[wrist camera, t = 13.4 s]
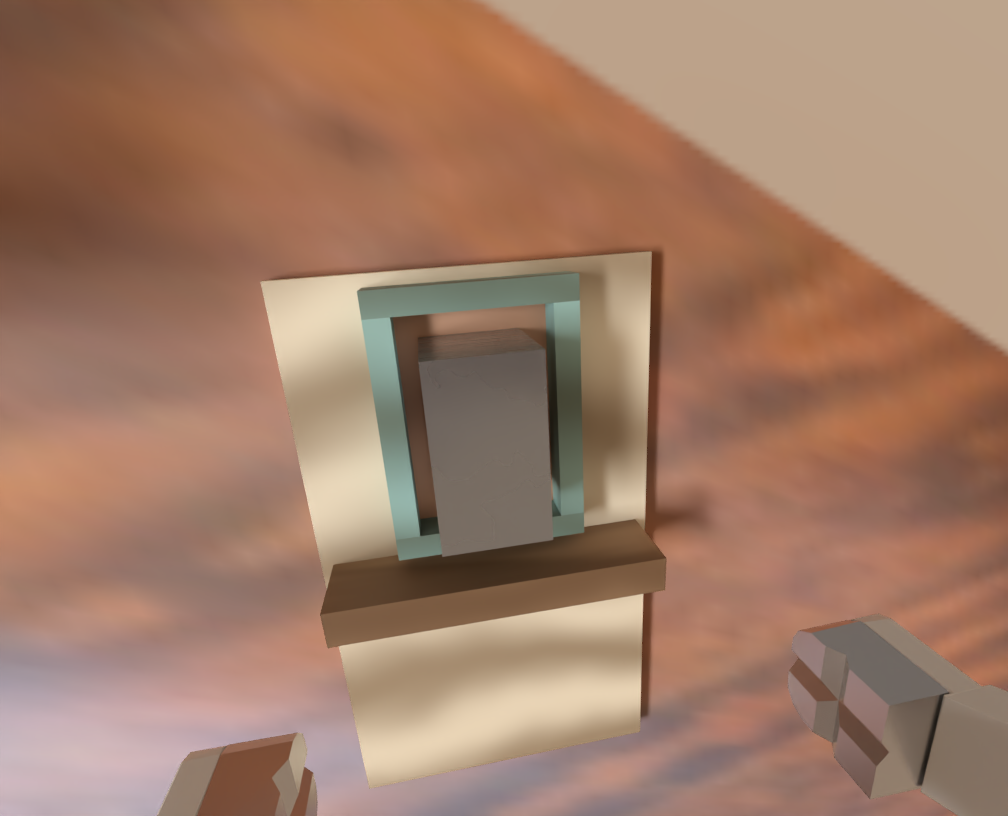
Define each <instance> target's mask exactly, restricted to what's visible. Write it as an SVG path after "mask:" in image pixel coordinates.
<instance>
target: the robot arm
mask: <svg viewBox="0 0 1008 816" xmlns="http://www.w3.org/2000/svg"><path fill="white" fill-rule="evenodd" d="M792 651H793V652H794V653H795V655H796V656H797V657H798V659H797V661H796V662H795V663H794V665H793V666H792V667H791V669H790V670H789V677H788V689H789V692H790V695H791V699H792V702H793V705H794V706H795V708H796V710H797V712H798V713H799V715H800V717H801V718H802V720H803V721H804V722H805V723H806V724H807V726H808V727H809V728H810V729H811V731H812V732H814V733H815V734H817V735H819V736H821V737H823V738H824V739H826V740H828V741H830V742H832V746H833V752H834V758H835V759H836V760H837V761H838V762H839V764H840V765H841V766H842V767H843V768H844V769H845V771H846V772H847V773H848V774H849V775H850V776H851V778H852V779H853V780H854V781H855V782H856V784H857V785H858V786H859V787H860V788H861V789H862V791H863V792H864V793H865V794H866V795H867V796H868V798H869V799H874V798H879V797H883V796H888V795H892V794H897V793H901V792H905V791H910V790H914V789H919V788H921V792H922V793H924V794H925V795H927V796H928V797H930V798H931V799H933V800H934V801H936V802H938V803H939V804H941V805H942V806H944V807H945V808H947V809H948V810H950V811H951V812H953V813H955V814H956V815H958V816H1008V691H1005V690H1002V689H1000V688H997V687H995V686H992V685H986V686H980V685H979V684H978V683H976V682H975V681H974V680H972V679H971V678H970V677H968V676H967V675H966V674H964V673H963V672H962V671H960V670H959V669H958V668H956V667H955V666H954V665H952V664H951V663H950V662H948V661H947V660H946V659H944V658H943V657H942V656H940V655H939V654H938V653H936V652H935V651H934V650H932V649H931V648H930V647H928V646H927V645H926V644H924V643H923V642H921V641H920V640H919V639H917V638H916V637H915V636H913V635H912V634H911V633H909V632H908V631H907V630H905V629H904V628H903V627H901V626H900V625H899V624H897V623H896V622H895V621H893V620H892V619H891V618H888V617H886V616H883V615H881V614H875V615H870V616H865V617H861V618H856V619H852V620H845V621H841V622H836V623H831V624H827V625H822V626H818V627H813V628H808V629H804V630H799V631H798V632H797V633H796V635H795V636H794V637H793V643H792ZM306 755H307V747H306V743H305V740H304V737H303V734H302V733H293V734H288V735H282V736H276V737H270V738H265V739H259V740H253V741H248V742H242V743H236V744H230V745H227V746H223V747H217V748H211V749H206V750H200V751H195V752H190V754H189V755H188V756H187V757H186V758H185V759H184V760H183V762H182V763H181V764H180V766H179V768H178V770H177V772H176V775H175V777H174V779H173V781H172V783H171V785H170V788H169V790H168V792H167V794H166V796H165V798H164V801H163V803H162V805H161V807H160V809H159V811H158V814H157V816H317V792H316V783H315V779H314V775H313V772H311V771H310V770H308V769H307V768H305V767H304V765H305V760H306Z"/></svg>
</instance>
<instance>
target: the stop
mask: <svg viewBox="0 0 1008 816" xmlns="http://www.w3.org/2000/svg"><path fill="white" fill-rule="evenodd" d="M418 363H419V372H420V380H421V388H422V396H423V404H424V412H425V420H426V428H427V436H428V444H429V452H430V460H431V468H432V476H433V485H434V493H435V501H436V509H437V517H438V525H439V533H440V541H441V549H442V557H445V556H451V555H458V554H464V553H471V552H477V551H484V550H491V549H497V548H504V547H510V546H517V545H523V544H530V543H536V542H543V541H549V540H553V522H552V498H551V473H550V449H549V425H548V401H547V377H546V353H545V349H544V348H543V347H542V346H540V345H539V344H538V343H537V342H536V341H534V340H533V339H532V338H531V337H529V336H528V335H527V334H526V333H524V332H523V331H522V330H521V329H519V328H511V329H500V330H490V331H479V332H469V333H458V334H447V335H437V336H426V337H418Z"/></svg>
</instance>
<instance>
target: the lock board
mask: <svg viewBox="0 0 1008 816" xmlns="http://www.w3.org/2000/svg"><path fill="white" fill-rule="evenodd" d="M651 261H652V251H640V252H627V253H614V254H601V255H588V256H575V257H562V258H549V259H536V260H523V261H510V262H497V263H484V264H471V265H458V266H445V267H432V268H419V269H406V270H393V271H380V272H367V273H354V274H341V275H328V276H315V277H302V278H289V279H276V280H265V281H261V286H262V291H263V296H264V300H265V305H266V310H267V314H268V319H269V324H270V328H271V333H272V338H273V342H274V347H275V352H276V356H277V361H278V365H279V370H280V375H281V379H282V384H283V389H284V393H285V398H286V403H287V407H288V412H289V417H290V421H291V426H292V431H293V435H294V440H295V445H296V449H297V454H298V459H299V463H300V468H301V473H302V477H303V482H304V487H305V491H306V496H307V500H308V505H309V510H310V514H311V519H312V524H313V528H314V533H315V538H316V542H317V547H318V552H319V556H320V561H321V566H322V570H323V575H324V580H325V584H326V589H327V591H326V595H325V598H324V602H323V606H322V610H321V614H320V616H321V621H322V625H323V630H324V634H325V639H326V643H327V647H328V648H332V647H337V646H339V649H340V654H341V659H342V663H343V668H344V673H345V677H346V682H347V687H348V691H349V696H350V701H351V705H352V710H353V715H354V719H355V724H356V729H357V733H358V738H359V743H360V747H361V752H362V757H363V761H364V766H365V770H366V775H367V780H368V784H369V789H370V788H374V787H379V786H384V785H389V784H394V783H398V782H403V781H408V780H413V779H417V778H422V777H427V776H432V775H436V774H441V773H446V772H451V771H455V770H460V769H465V768H470V767H474V766H479V765H484V764H489V763H493V762H498V761H503V760H508V759H512V758H517V757H522V756H527V755H532V754H536V753H541V752H546V751H551V750H555V749H560V748H565V747H570V746H574V745H579V744H584V743H589V742H593V741H598V740H603V739H608V738H612V737H617V736H622V735H627V734H631V733H636V732H640V708H641V667H642V627H643V594H645V593H651V592H657V591H663V590H665V581H666V557H665V556H664V555H663V553H662V552H661V551H660V550H659V548H658V547H657V546H656V545H655V543H654V542H653V541H652V540H651V538H650V537H649V536H648V535H647V533H646V532H645V505H646V464H647V424H648V383H649V342H650V302H651ZM511 328H519V329H521V330H522V331H523V332H524V333H526V334H527V335H528V336H529V337H531V338H532V339H533V340H534V341H536V342H537V343H538V344H539V345H540V346H542V347H543V348H544V349H545V353H546V377H547V401H548V425H549V449H550V473H551V498H552V522H553V540H549V541H543V542H536V543H530V544H523V545H517V546H510V547H504V548H497V549H491V550H484V551H477V552H471V553H464V554H458V555H451V556H445V557H442V549H441V541H440V533H439V525H438V517H437V509H436V501H435V493H434V485H433V476H432V468H431V460H430V452H429V444H428V436H427V428H426V420H425V412H424V404H423V396H422V388H421V380H420V372H419V363H418V337H426V336H437V335H447V334H458V333H469V332H479V331H490V330H500V329H511Z"/></svg>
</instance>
